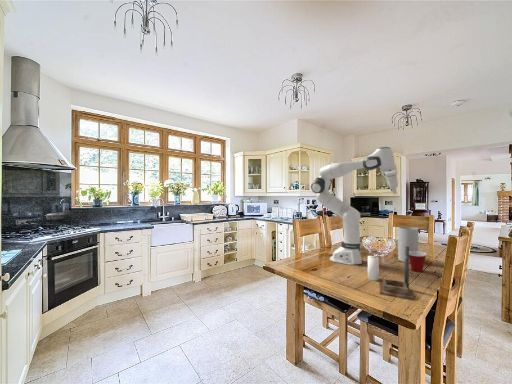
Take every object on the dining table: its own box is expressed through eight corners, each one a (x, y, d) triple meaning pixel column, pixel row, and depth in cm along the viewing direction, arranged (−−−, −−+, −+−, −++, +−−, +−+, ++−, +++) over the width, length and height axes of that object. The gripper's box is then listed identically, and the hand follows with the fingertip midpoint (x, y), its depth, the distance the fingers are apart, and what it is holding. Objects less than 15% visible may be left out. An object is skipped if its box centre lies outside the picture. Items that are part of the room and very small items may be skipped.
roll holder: (380, 294, 118) (380, 249, 117) (379, 283, 130) (379, 243, 130) (412, 299, 111) (413, 252, 111) (408, 288, 124) (408, 246, 124)
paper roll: (367, 279, 136) (367, 257, 136) (367, 276, 142) (367, 255, 142) (378, 281, 134) (379, 259, 134) (378, 277, 139) (378, 256, 139)
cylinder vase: (416, 264, 163) (416, 230, 163) (396, 261, 172) (396, 228, 171) (419, 260, 172) (419, 227, 172) (400, 257, 181) (400, 226, 181)
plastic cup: (402, 268, 156) (403, 250, 156) (417, 267, 157) (417, 250, 157) (415, 274, 146) (415, 255, 145) (431, 273, 146) (431, 254, 146)
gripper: (381, 171, 157) (386, 190, 158) (385, 174, 138) (390, 196, 139) (392, 169, 154) (396, 188, 155) (397, 171, 135) (402, 194, 136)
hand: (393, 192), depth 147 cm, fingers open, 8 cm apart
